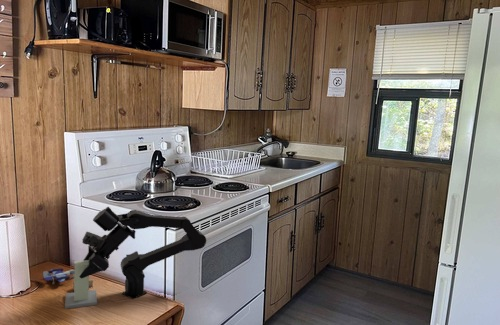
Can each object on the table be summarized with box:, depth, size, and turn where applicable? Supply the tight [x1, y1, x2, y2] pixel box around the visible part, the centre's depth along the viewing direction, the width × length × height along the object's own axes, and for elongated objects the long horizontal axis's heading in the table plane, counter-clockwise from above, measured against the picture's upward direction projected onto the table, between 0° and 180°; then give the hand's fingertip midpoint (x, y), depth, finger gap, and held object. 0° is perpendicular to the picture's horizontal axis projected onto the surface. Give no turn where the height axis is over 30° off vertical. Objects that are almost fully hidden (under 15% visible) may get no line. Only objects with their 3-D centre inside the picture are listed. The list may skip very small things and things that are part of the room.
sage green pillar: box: [73, 259, 90, 301], centre depth 136 cm, size 4×4×12 cm
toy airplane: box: [42, 268, 74, 285], centre depth 152 cm, size 13×14×4 cm
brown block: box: [72, 277, 94, 289], centre depth 147 cm, size 6×3×3 cm, turn 138°
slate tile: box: [64, 289, 98, 310], centre depth 137 cm, size 10×10×1 cm
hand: (80, 272), depth 136 cm, fingers open, 9 cm apart
